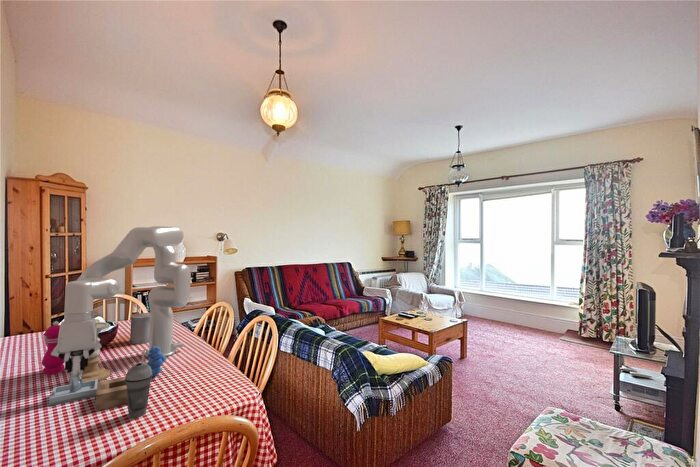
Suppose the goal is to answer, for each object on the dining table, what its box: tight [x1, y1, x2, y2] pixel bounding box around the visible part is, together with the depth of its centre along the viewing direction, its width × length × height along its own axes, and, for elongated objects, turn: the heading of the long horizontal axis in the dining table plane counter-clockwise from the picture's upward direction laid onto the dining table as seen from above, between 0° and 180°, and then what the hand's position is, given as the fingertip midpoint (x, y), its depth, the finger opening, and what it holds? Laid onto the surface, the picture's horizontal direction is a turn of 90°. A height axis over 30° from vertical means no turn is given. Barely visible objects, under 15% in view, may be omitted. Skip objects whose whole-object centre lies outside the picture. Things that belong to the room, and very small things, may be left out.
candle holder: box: [68, 321, 111, 383], centre depth 123 cm, size 12×12×20 cm
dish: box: [48, 379, 98, 407], centre depth 109 cm, size 12×9×2 cm
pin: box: [69, 350, 84, 392], centre depth 109 cm, size 3×3×14 cm
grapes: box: [146, 347, 168, 378], centre depth 127 cm, size 12×7×12 cm, turn 49°
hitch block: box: [95, 376, 128, 412], centre depth 108 cm, size 11×11×5 cm
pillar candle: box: [129, 312, 150, 345], centre depth 166 cm, size 10×10×15 cm
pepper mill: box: [41, 320, 65, 376], centre depth 128 cm, size 7×7×20 cm
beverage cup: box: [125, 348, 153, 419], centre depth 99 cm, size 7×7×20 cm
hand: (76, 369), depth 110 cm, fingers closed on pin, 3 cm apart
